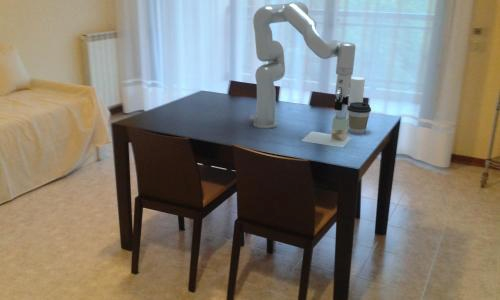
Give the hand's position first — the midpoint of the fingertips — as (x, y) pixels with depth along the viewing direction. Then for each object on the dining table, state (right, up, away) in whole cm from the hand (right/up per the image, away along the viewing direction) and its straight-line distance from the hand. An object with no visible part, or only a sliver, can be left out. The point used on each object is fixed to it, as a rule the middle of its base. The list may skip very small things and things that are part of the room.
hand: (340, 107), depth 224 cm
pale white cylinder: (0, -5, +1) cm, 5 cm away
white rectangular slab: (-6, -16, +4) cm, 17 cm away
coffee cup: (+11, -12, +16) cm, 23 cm away
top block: (0, -9, +3) cm, 10 cm away
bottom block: (0, -14, +5) cm, 15 cm away
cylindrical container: (+12, -7, +29) cm, 32 cm away
